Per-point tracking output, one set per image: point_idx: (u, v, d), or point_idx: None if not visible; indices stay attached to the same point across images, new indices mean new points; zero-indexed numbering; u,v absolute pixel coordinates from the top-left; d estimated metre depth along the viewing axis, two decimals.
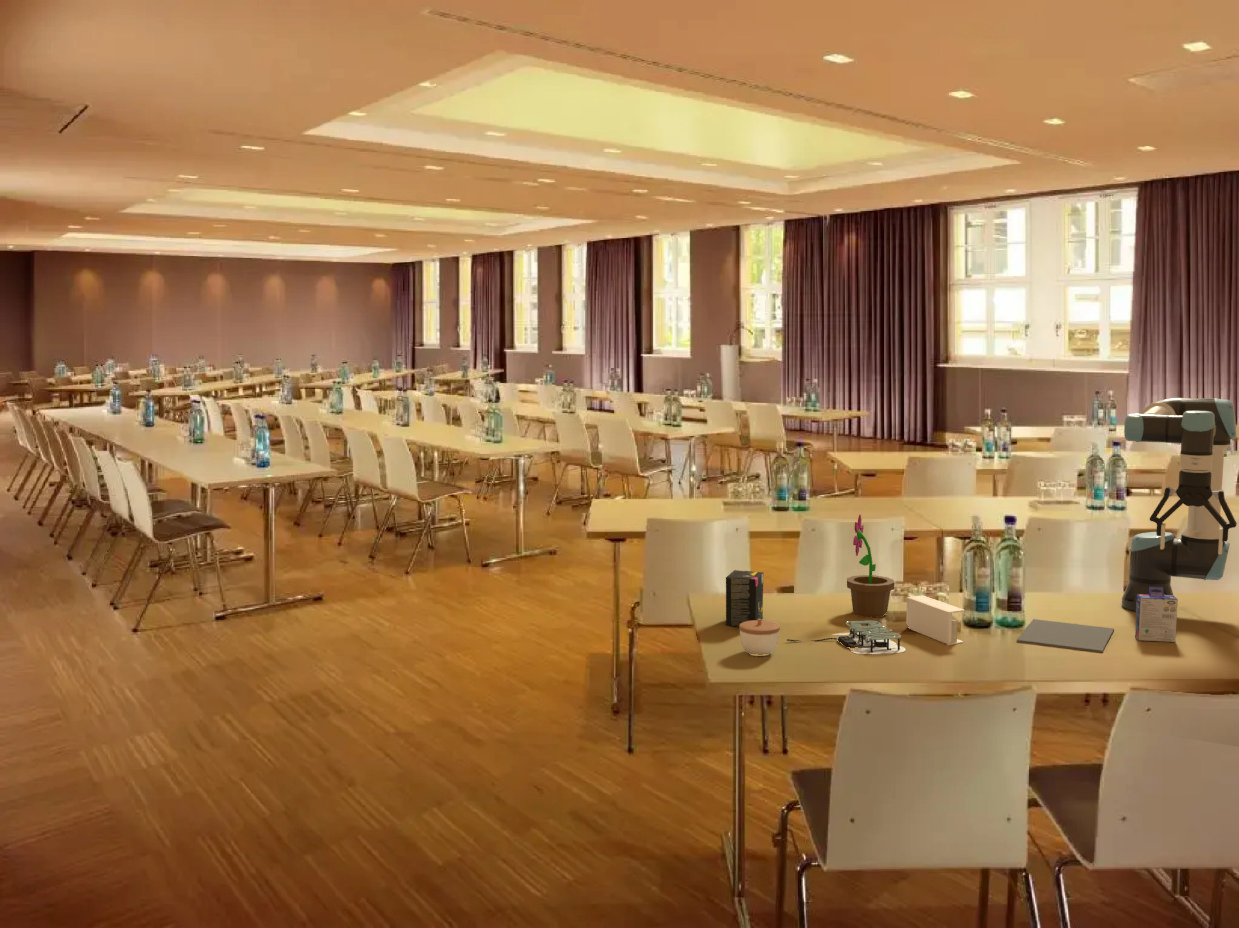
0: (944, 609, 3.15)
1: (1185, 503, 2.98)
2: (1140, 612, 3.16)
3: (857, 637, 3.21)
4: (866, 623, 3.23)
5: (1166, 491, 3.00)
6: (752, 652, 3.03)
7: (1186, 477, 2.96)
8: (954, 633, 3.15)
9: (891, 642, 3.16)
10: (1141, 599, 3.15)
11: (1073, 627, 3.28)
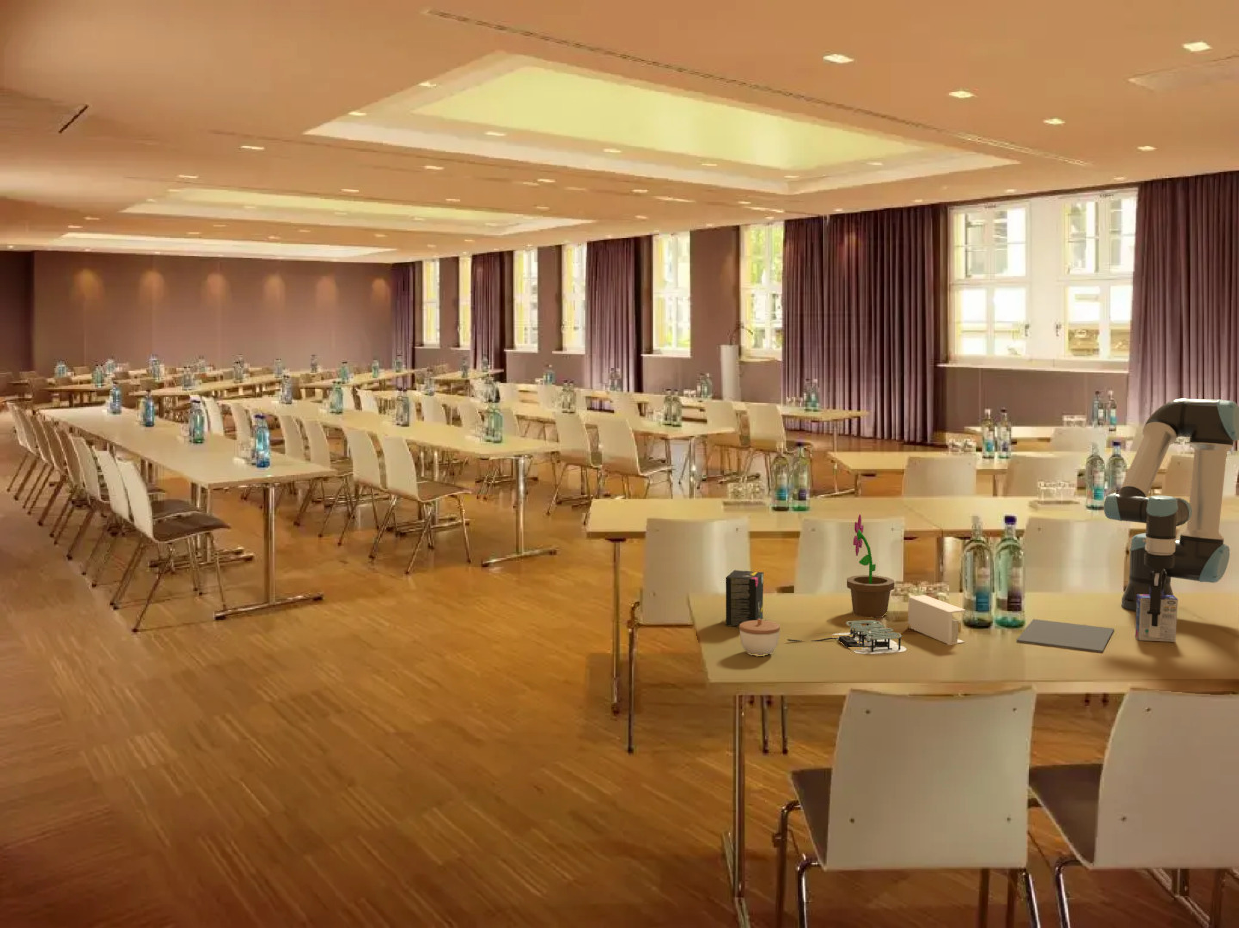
0: (945, 609, 3.15)
1: None
2: (1140, 612, 3.16)
3: (857, 637, 3.22)
4: (867, 623, 3.24)
5: None
6: (752, 652, 3.03)
7: None
8: (955, 633, 3.15)
9: (892, 642, 3.16)
10: (1141, 599, 3.15)
11: (1073, 627, 3.28)
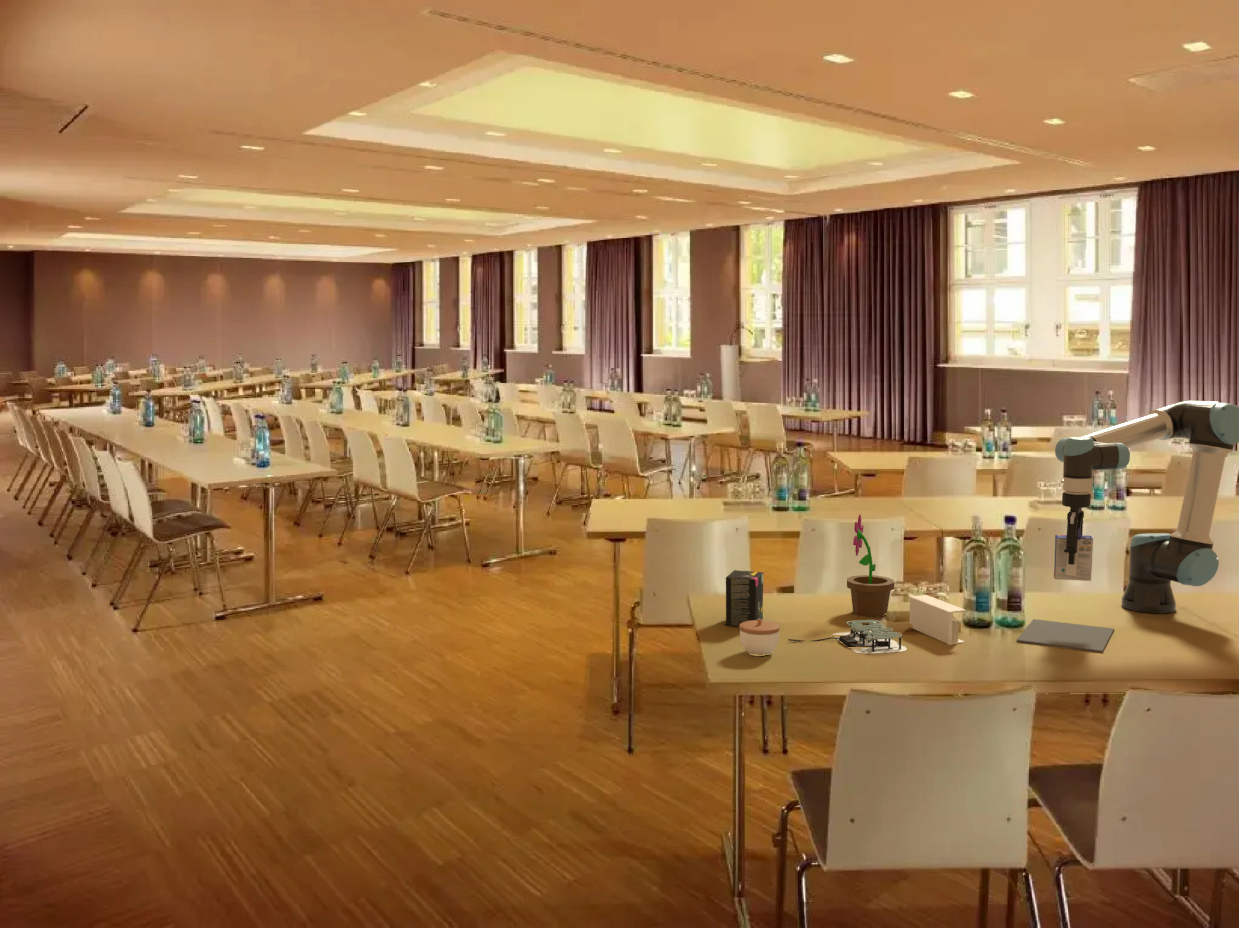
0: (945, 609, 3.15)
1: None
2: (1056, 552, 3.23)
3: (858, 636, 3.22)
4: (867, 622, 3.24)
5: None
6: (752, 652, 3.03)
7: None
8: (955, 633, 3.15)
9: (892, 641, 3.17)
10: (1057, 539, 3.22)
11: (1073, 627, 3.28)
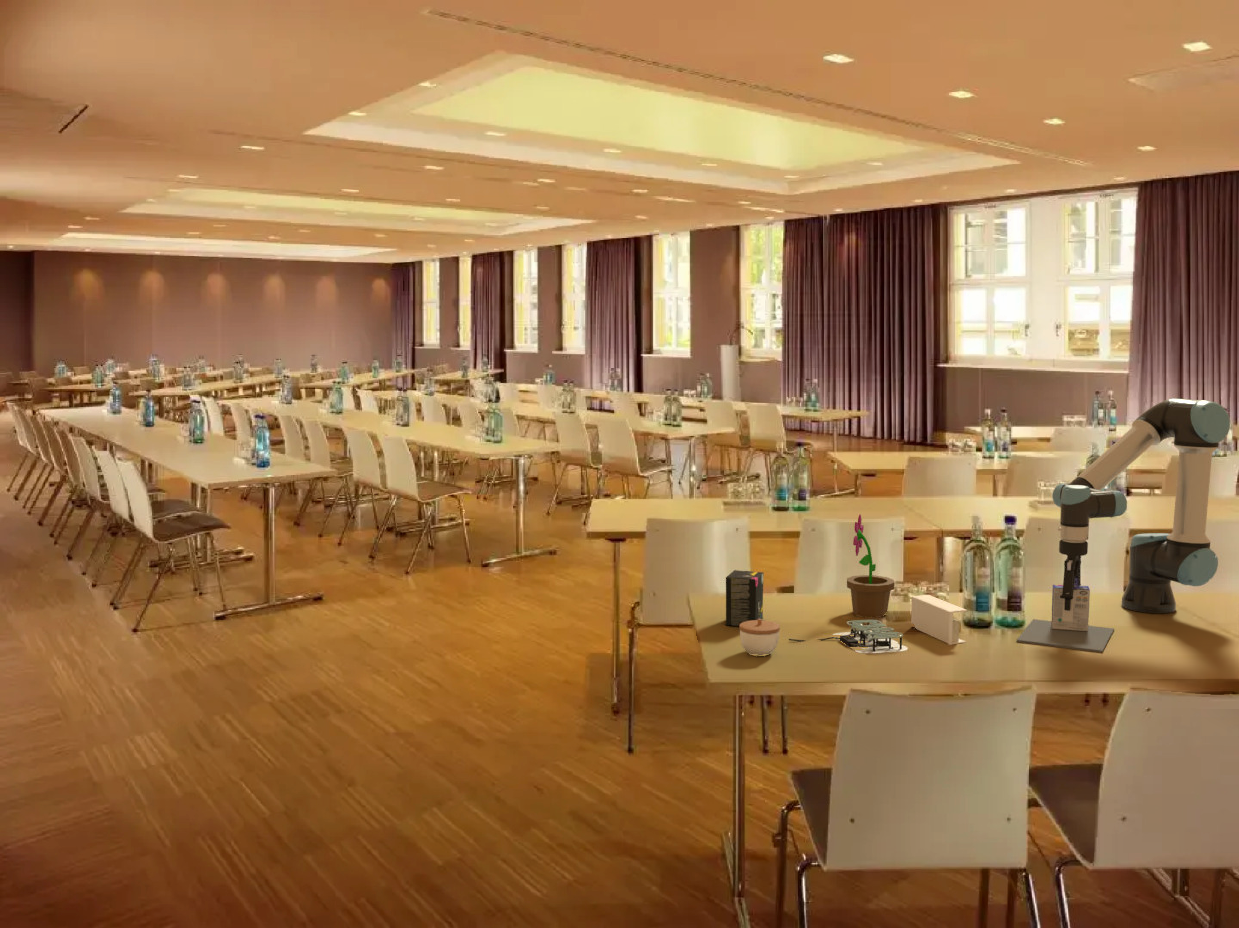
0: (946, 609, 3.16)
1: None
2: (1053, 601, 3.25)
3: (858, 636, 3.22)
4: (867, 622, 3.24)
5: None
6: (752, 652, 3.03)
7: None
8: (955, 633, 3.15)
9: (892, 641, 3.17)
10: (1054, 589, 3.25)
11: None
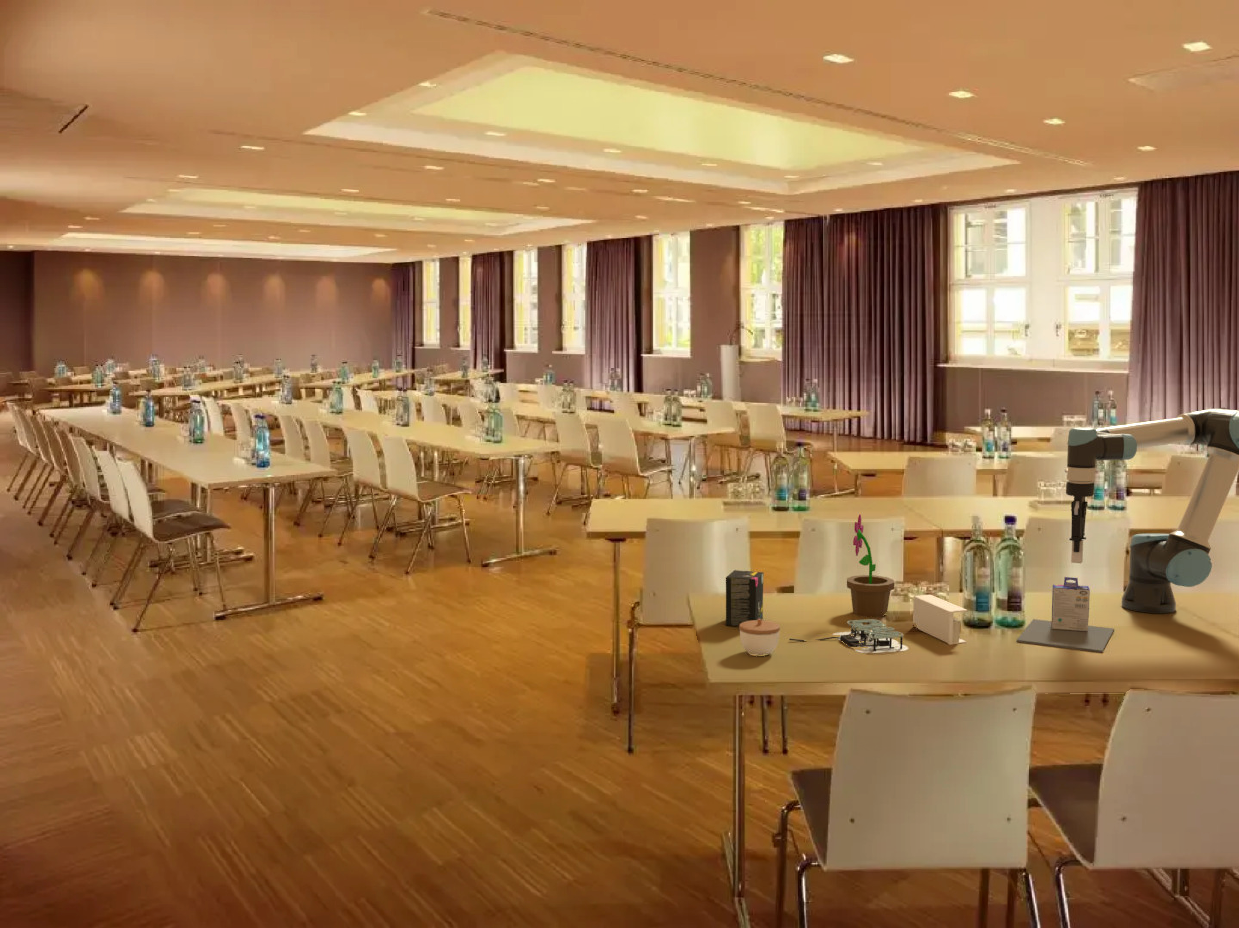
0: (946, 608, 3.16)
1: None
2: (1053, 601, 3.25)
3: (858, 636, 3.22)
4: (867, 622, 3.25)
5: None
6: (752, 652, 3.03)
7: None
8: (956, 633, 3.15)
9: (893, 641, 3.18)
10: (1054, 589, 3.25)
11: None
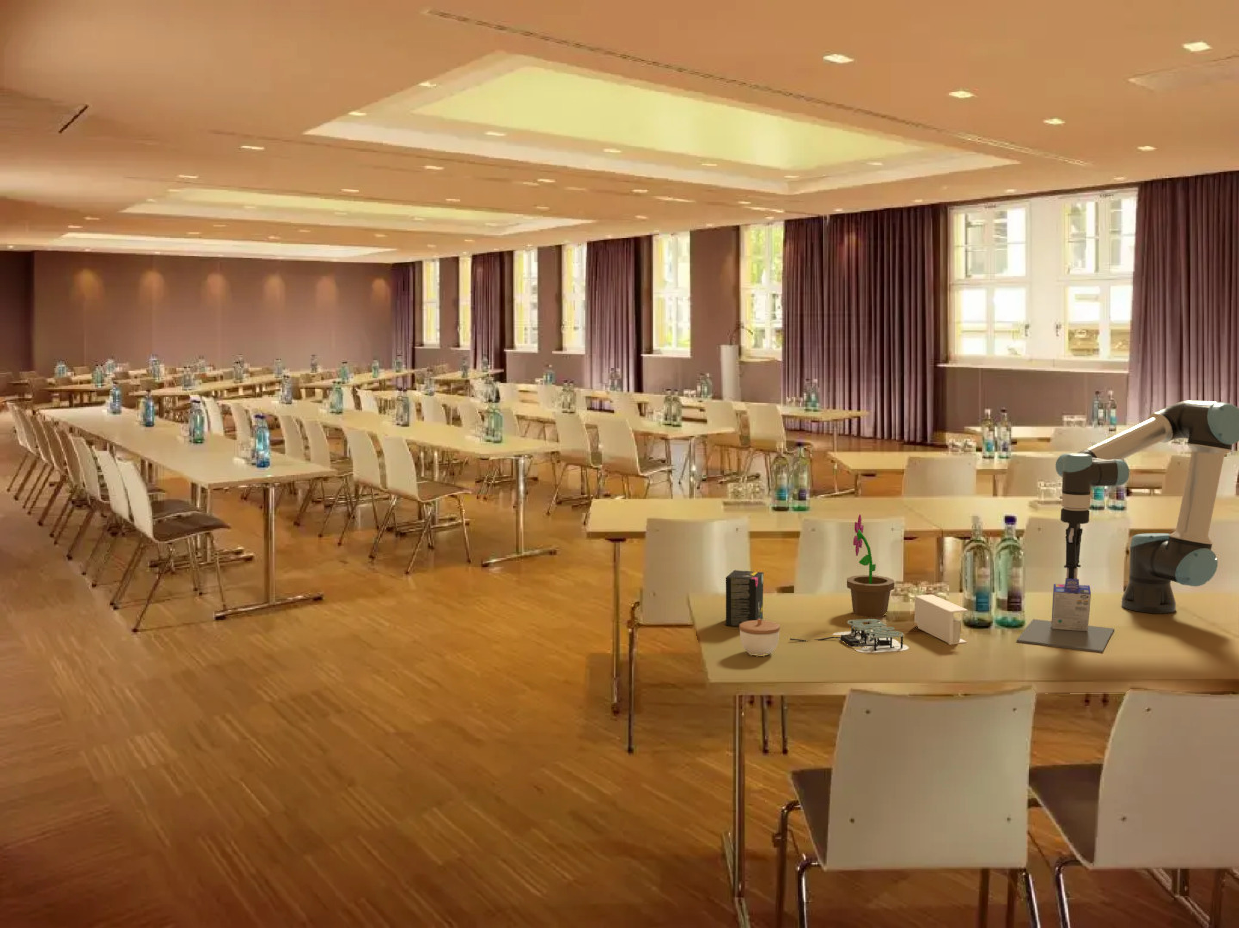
0: (947, 608, 3.16)
1: None
2: (1054, 604, 3.23)
3: (859, 636, 3.23)
4: (868, 622, 3.25)
5: None
6: (752, 652, 3.03)
7: None
8: (956, 633, 3.15)
9: (893, 640, 3.18)
10: (1055, 593, 3.22)
11: None
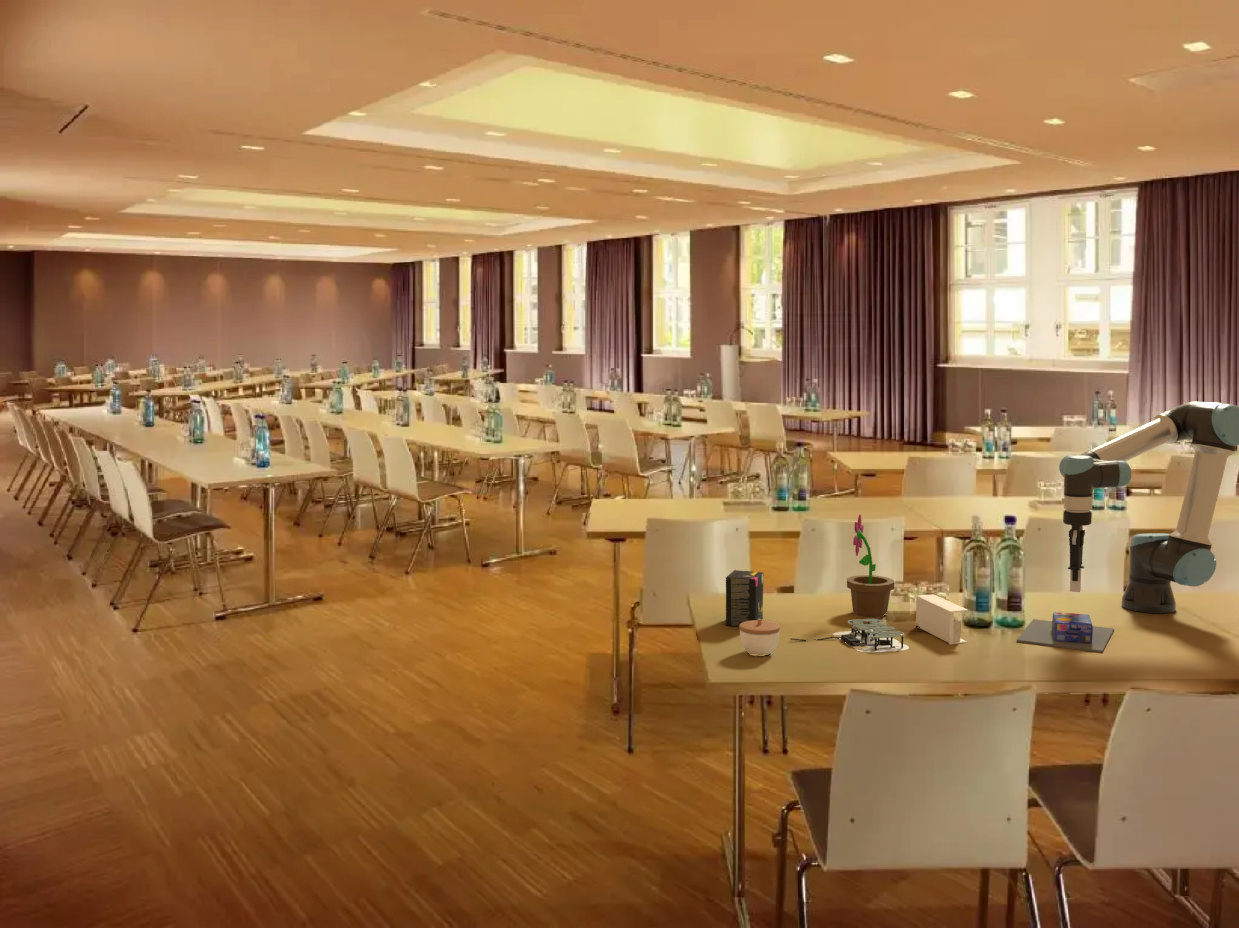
0: (947, 608, 3.16)
1: None
2: (1054, 636, 3.18)
3: (859, 635, 3.23)
4: (867, 621, 3.25)
5: None
6: (752, 652, 3.03)
7: None
8: (957, 633, 3.15)
9: (893, 640, 3.18)
10: (1055, 640, 3.15)
11: None
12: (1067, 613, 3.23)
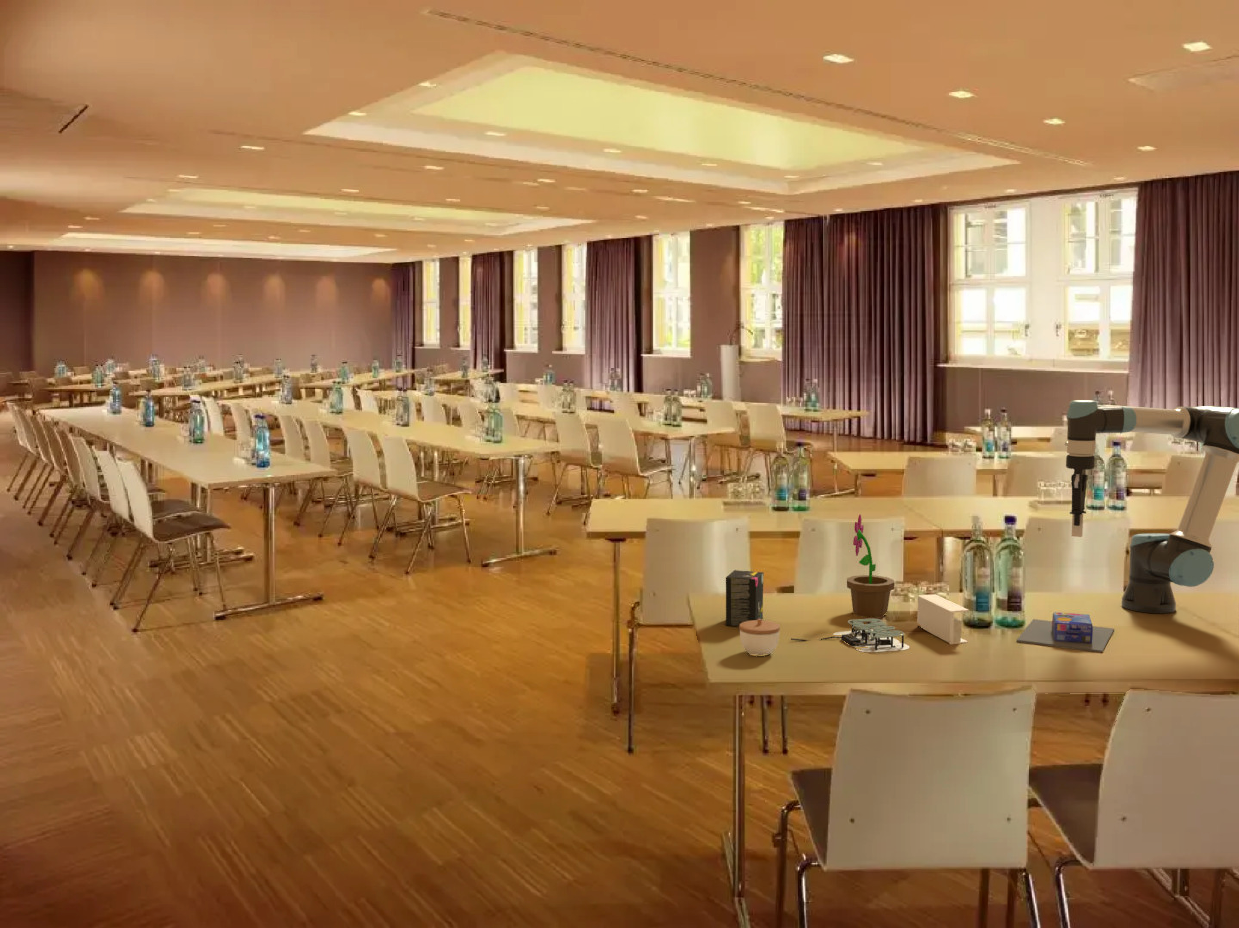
0: (948, 608, 3.16)
1: None
2: (1054, 636, 3.18)
3: (859, 635, 3.23)
4: (868, 621, 3.26)
5: None
6: (752, 652, 3.03)
7: None
8: (957, 632, 3.15)
9: (894, 640, 3.18)
10: (1055, 640, 3.15)
11: None
12: (1067, 613, 3.23)
